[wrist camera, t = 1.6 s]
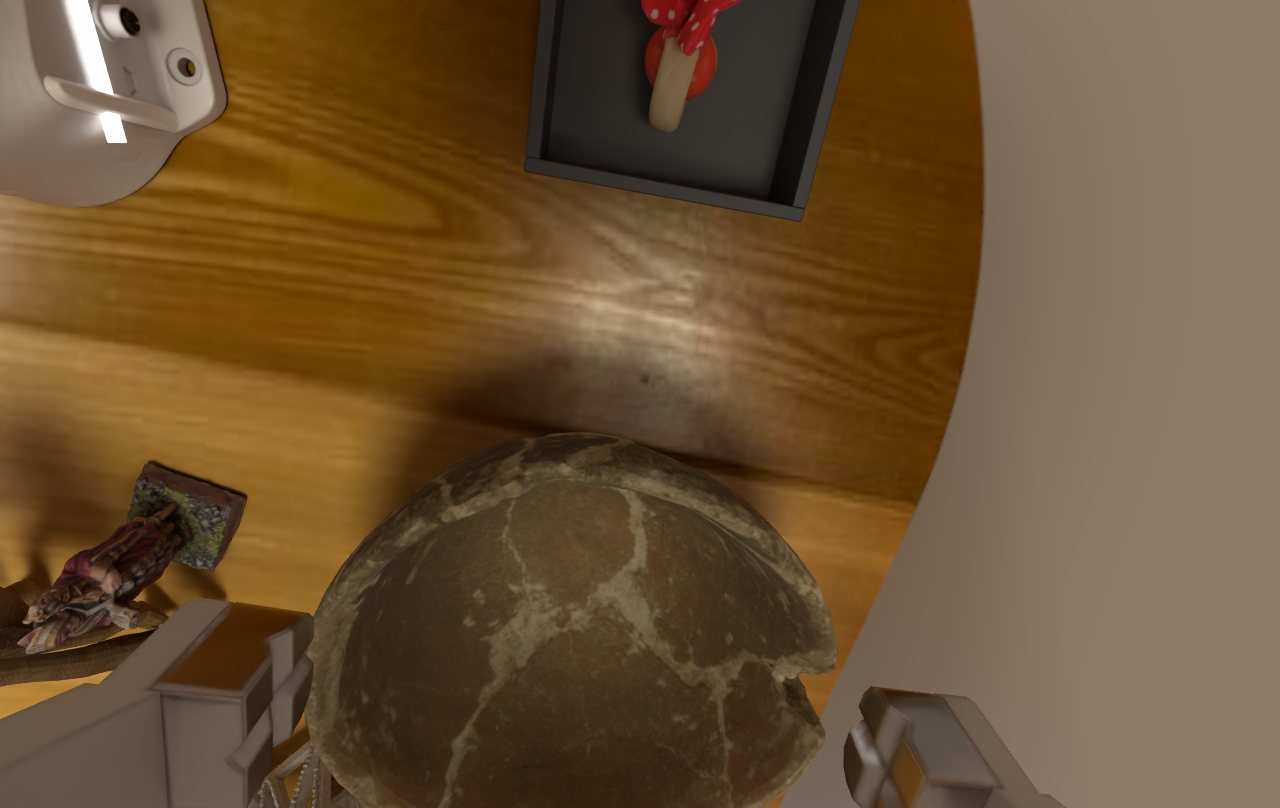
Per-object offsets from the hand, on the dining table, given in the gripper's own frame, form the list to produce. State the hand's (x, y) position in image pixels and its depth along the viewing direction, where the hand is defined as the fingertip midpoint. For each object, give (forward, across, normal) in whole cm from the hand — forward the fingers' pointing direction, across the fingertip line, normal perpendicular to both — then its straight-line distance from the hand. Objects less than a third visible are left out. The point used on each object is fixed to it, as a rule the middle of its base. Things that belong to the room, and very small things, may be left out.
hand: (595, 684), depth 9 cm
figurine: (+31, +26, +19) cm, 45 cm away
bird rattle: (+30, -1, -15) cm, 34 cm away
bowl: (+32, -1, +17) cm, 36 cm away
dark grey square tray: (+31, -1, -15) cm, 34 cm away
